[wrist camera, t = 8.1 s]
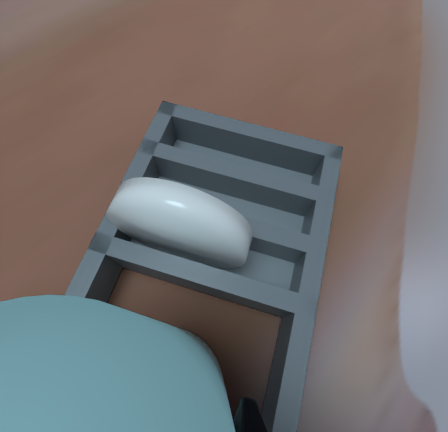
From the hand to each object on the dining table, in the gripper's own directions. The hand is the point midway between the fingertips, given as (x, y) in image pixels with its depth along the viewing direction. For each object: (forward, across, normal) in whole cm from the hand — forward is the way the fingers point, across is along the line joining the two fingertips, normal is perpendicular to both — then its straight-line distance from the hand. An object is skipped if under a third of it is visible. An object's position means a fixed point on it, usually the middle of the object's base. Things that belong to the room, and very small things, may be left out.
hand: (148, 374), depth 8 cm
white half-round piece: (+10, -2, -2) cm, 10 cm away
